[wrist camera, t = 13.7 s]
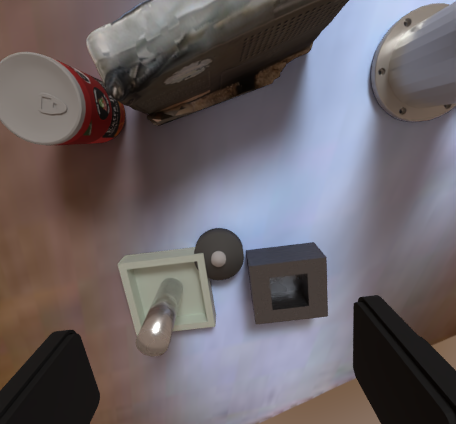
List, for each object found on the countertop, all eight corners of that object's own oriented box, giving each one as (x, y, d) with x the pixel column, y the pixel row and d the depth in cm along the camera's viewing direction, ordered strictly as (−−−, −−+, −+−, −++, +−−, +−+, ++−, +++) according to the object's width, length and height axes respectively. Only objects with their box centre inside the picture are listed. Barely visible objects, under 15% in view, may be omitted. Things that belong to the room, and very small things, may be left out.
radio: (316, -7, 30) (399, -140, 16) (329, 73, 32) (412, 21, 18) (128, 56, 32) (46, -12, 17) (153, 127, 34) (99, 120, 20)
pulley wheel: (239, 225, 38) (241, 233, 34) (245, 268, 39) (246, 279, 36) (191, 231, 38) (188, 239, 35) (199, 274, 40) (197, 285, 37)
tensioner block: (313, 242, 38) (326, 257, 33) (315, 295, 41) (327, 316, 36) (246, 250, 39) (249, 266, 34) (252, 302, 41) (255, 324, 36)
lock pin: (181, 276, 39) (164, 327, 28) (185, 297, 40) (171, 354, 29) (157, 279, 39) (132, 331, 29) (162, 300, 40) (139, 358, 29)
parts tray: (204, 245, 38) (203, 253, 36) (215, 314, 42) (215, 326, 39) (124, 255, 39) (117, 264, 36) (142, 323, 42) (136, 335, 39)
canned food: (131, 141, 34) (89, 143, 24) (71, 144, 34) (2, 148, 24) (122, 77, 32) (71, 47, 22) (58, 81, 32) (-25, 53, 22)
